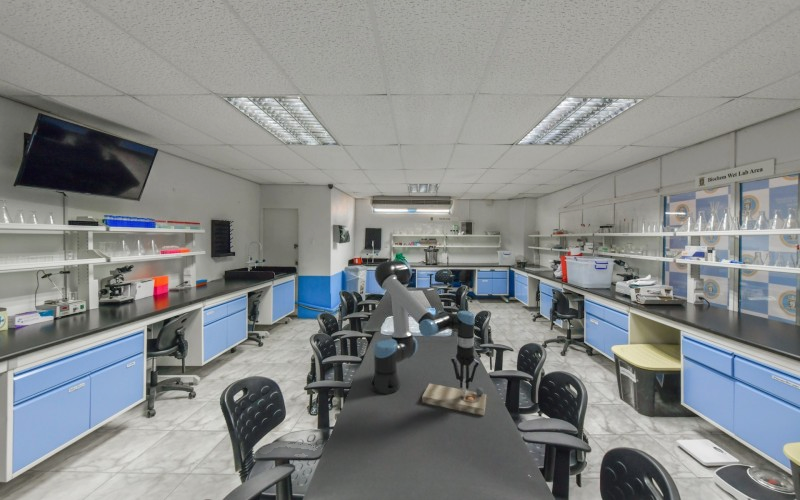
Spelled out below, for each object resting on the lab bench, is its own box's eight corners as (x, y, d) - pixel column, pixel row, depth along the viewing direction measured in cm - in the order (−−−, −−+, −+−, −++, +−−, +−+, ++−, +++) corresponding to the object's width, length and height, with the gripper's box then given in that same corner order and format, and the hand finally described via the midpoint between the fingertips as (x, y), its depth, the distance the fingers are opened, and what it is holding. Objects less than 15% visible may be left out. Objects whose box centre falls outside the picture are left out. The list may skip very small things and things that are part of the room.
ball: (469, 397, 137) (475, 402, 136) (470, 394, 140) (476, 399, 139) (464, 402, 137) (471, 408, 136) (465, 399, 141) (471, 404, 140)
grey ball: (475, 396, 140) (475, 388, 140) (476, 392, 143) (476, 385, 143) (483, 397, 139) (483, 390, 139) (483, 393, 142) (483, 386, 142)
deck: (422, 402, 140) (422, 396, 140) (429, 389, 152) (429, 383, 152) (483, 415, 130) (484, 409, 130) (486, 400, 142) (486, 394, 142)
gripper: (449, 346, 137) (448, 395, 138) (479, 350, 132) (477, 401, 133) (452, 340, 144) (451, 388, 145) (480, 344, 139) (479, 393, 140)
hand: (464, 394), depth 139 cm, fingers closed
